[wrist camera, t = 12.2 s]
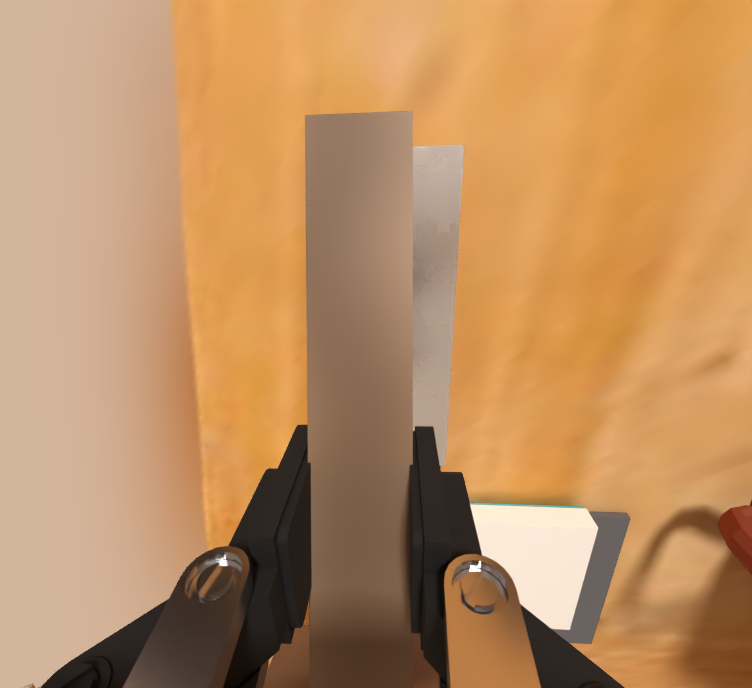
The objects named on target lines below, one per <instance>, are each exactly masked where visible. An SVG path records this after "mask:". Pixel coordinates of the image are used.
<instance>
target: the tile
mask: <svg viewBox="0 0 752 688" xmlns="http://www.w3.org/2000/svg"><path fill="white" fill-rule="evenodd" d="M470 506H471V510H472V515H473V519H474V523H475V527H476V531H477V535H478V540H479V544H480V548H481V552H482V556H486V557H488V558H490V559H492V560H494V561H496V562H497V563H498V564H500V565H501V566H502V567H503V568H504V569H505V570H506V571H507V572H508V574H509V575H510V576H511V578H512V579H513V582H514V584H515V587H516V589H517V593H518V597H519V601H520V604H521V605H522V606H524V607H525V608H526V609H527V610H529V611H530V612H531V613H532V614H533V615H535V616H536V617H537V618H538V619H540V620H541V621H542V622H543V623H545V624H546V625H547V626H548V627H550V628H551V629H562V630H570V627H571V623H572V620H573V616H574V613H575V609H576V606H577V602H578V599H579V595H580V591H581V588H582V584H583V581H584V577H585V574H586V570H587V567H588V563H589V559H590V556H591V552H592V549H593V545H594V542H595V538H596V535H597V531H598V527H597V525H596V523H595V522H594V520H593V518H592V517H591V515H590V514H589V512H588V510H587V509H584V507H583V506H556V505H528V504H500V503H472V502H470Z"/></svg>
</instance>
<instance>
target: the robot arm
mask: <svg viewBox="0 0 752 688" xmlns="http://www.w3.org/2000/svg"><path fill="white" fill-rule="evenodd" d="M311 587H312V564H311V463H308V425H297V427H296V429H295V431H294V433H293V436H292V438H291V440H290V442H289V445H288V447H287V449H286V451H285V454H284V456H283V458H282V460H281V462H280V465H279V467H278V469H267V470H266V471H265V473H264V475H263V477H262V479H261V481H260V483H259V485H258V487H257V489H256V491H255V493H254V495H253V497H252V499H251V501H250V503H249V505H248V507H247V509H246V511H245V513H244V515H243V517H242V519H241V521H240V523H239V526H238V528H237V530H236V532H235V534H234V536H233V538H232V540H231V542H230V544H229V546H223V547H217V548H214V549H212V550H209V551H207V552H205V553H203V554H202V555H200V556H199V557H197V558H196V559H195V560H194V561H193V562H192V563H190V564H189V566H187V568H186V569H185V571H184V572H183V574H182V575H181V577H180V579H179V580H178V582H177V585H176V586H175V588H174V590H173V592H172V594H171V596H170V598H169V599H168V600H167V601H165V602H163V603H161V604H160V605H158V606H157V607H155V608H153V609H152V610H150V611H149V612H147V613H146V614H144V615H143V616H141V617H139V618H138V619H136V620H134V621H133V622H131V623H130V624H128V625H127V626H125V627H123V628H122V629H120V630H119V631H117V632H116V633H114V634H112V635H111V636H109V637H108V638H106V639H104V640H103V641H101V642H100V643H98V644H97V645H95V646H93V647H92V648H90V649H89V650H87V651H85V652H84V653H82V654H81V655H79V656H78V657H76V658H74V659H73V660H71V661H70V662H68V663H67V664H66V665H64V666H63V667H62V668H60V669H59V670H58V671H57V672H56V673H54V674H53V675H52V676H51V677H50V678H49V679H48V680H47V682H45V683H44V684H43V685H42V686H41V687H39V688H263V686H264V682H265V678H266V673H267V669H268V661H269V659H270V658H271V657H272V656H273V655H274V654H275V653H277V652H278V651H279V650H280V646H281V644H291V643H292V639H293V635H294V630H295V628H302V626H303V623H304V619H305V614H306V610H307V605H308V601H309V596H310V592H311ZM410 608H411V633H418V634H420V642H421V650H423V657H424V658H425V659H426V661H427V662H428V663H429V664H430V665H431V666H432V667H433V669H434V670H435V671H436V672H437V673H438V688H624V687H623V686H622V685H621V684H619V683H618V682H617V681H616V680H614V679H613V678H612V677H611V676H609V675H608V674H607V673H606V672H604V671H603V670H602V669H601V668H599V667H598V666H597V665H596V664H594V663H593V662H592V661H591V660H589V659H588V658H587V657H586V656H584V655H583V654H582V653H581V652H580V651H578V650H577V649H576V648H575V647H573V646H572V645H571V644H570V643H568V642H567V641H566V640H565V639H563V638H562V637H561V636H560V635H558V634H557V633H556V632H555V631H553V630H552V629H551V628H550V627H548V626H547V625H546V624H545V623H543V622H542V621H541V620H540V619H538V618H537V617H536V616H535V615H533V614H532V613H531V612H530V611H529V610H527V609H526V608H525V607H524V606H522V605H521V604H520V601H519V597H518V593H517V589H516V587H515V584H514V582H513V579H512V578H511V576H510V575H509V574H508V572H507V571H506V570H505V569H504V568H503V567H502V566H501V565H500V564H498V563H497V562H496V561H494V560H492V559H490V558H488V557H486V556H482V552H481V548H480V544H479V540H478V535H477V531H476V527H475V523H474V519H473V515H472V510H471V506H470V502H469V498H468V494H467V490H466V486H465V481H464V477H463V474H462V473H461V472H441V471H440V464H439V458H438V452H437V446H436V439H435V433H434V428H433V426H415V431H413V465H410ZM22 688H35V686H34V685H33V684H30V685H27V686H25V687H22Z"/></svg>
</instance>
